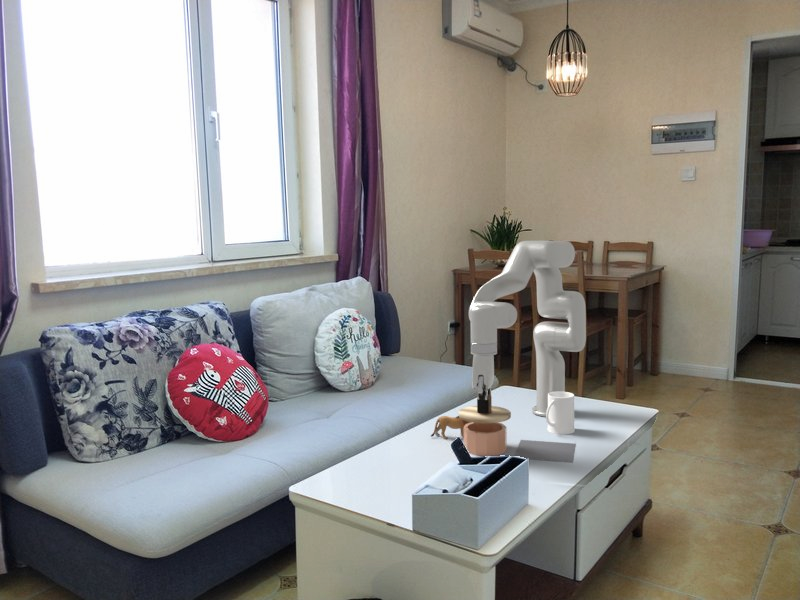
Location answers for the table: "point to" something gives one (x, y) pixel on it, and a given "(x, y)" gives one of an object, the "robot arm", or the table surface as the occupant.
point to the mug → (560, 412)
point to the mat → (546, 451)
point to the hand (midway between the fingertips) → (484, 410)
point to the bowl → (485, 438)
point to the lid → (485, 414)
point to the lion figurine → (449, 425)
